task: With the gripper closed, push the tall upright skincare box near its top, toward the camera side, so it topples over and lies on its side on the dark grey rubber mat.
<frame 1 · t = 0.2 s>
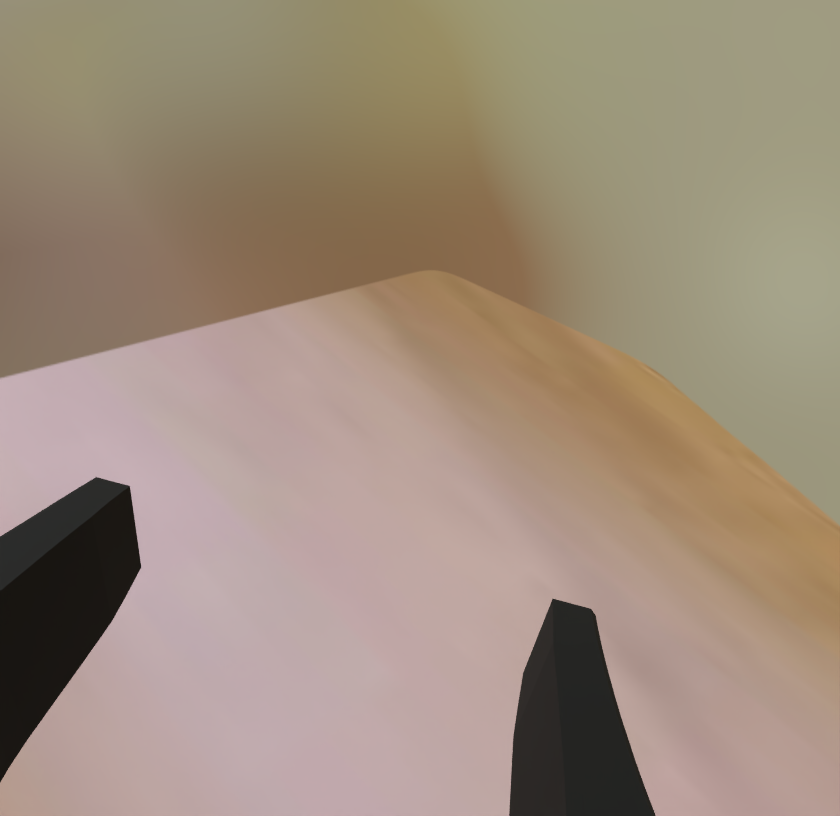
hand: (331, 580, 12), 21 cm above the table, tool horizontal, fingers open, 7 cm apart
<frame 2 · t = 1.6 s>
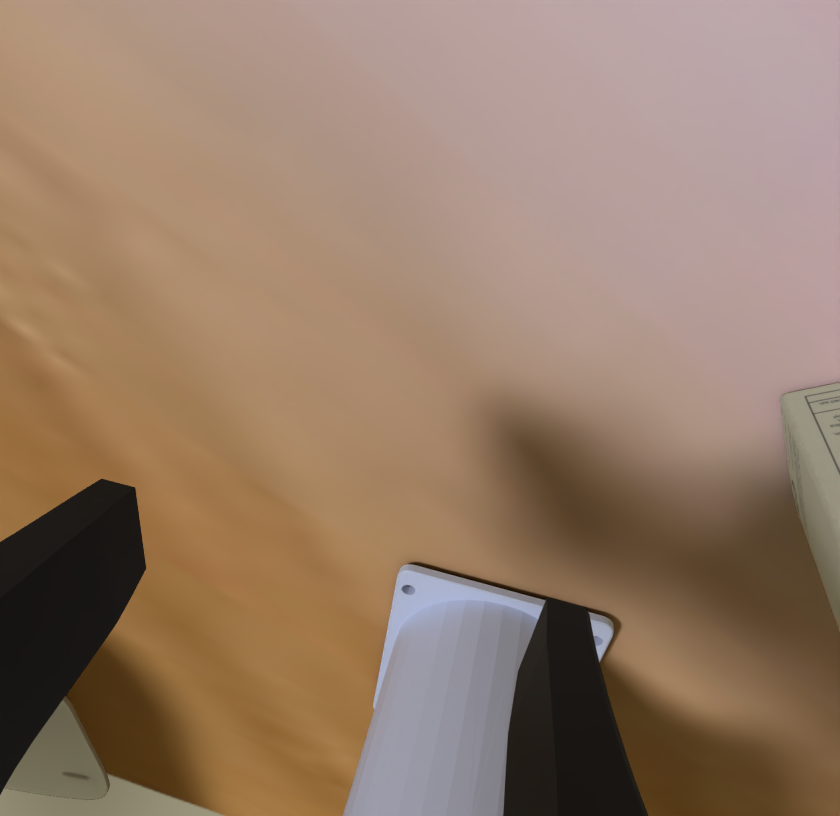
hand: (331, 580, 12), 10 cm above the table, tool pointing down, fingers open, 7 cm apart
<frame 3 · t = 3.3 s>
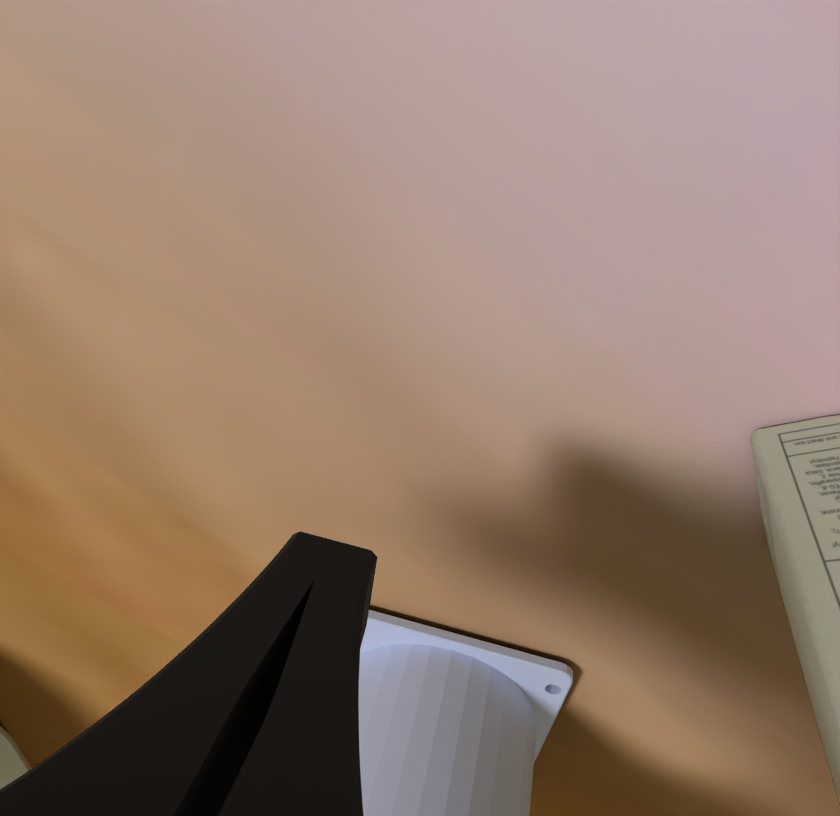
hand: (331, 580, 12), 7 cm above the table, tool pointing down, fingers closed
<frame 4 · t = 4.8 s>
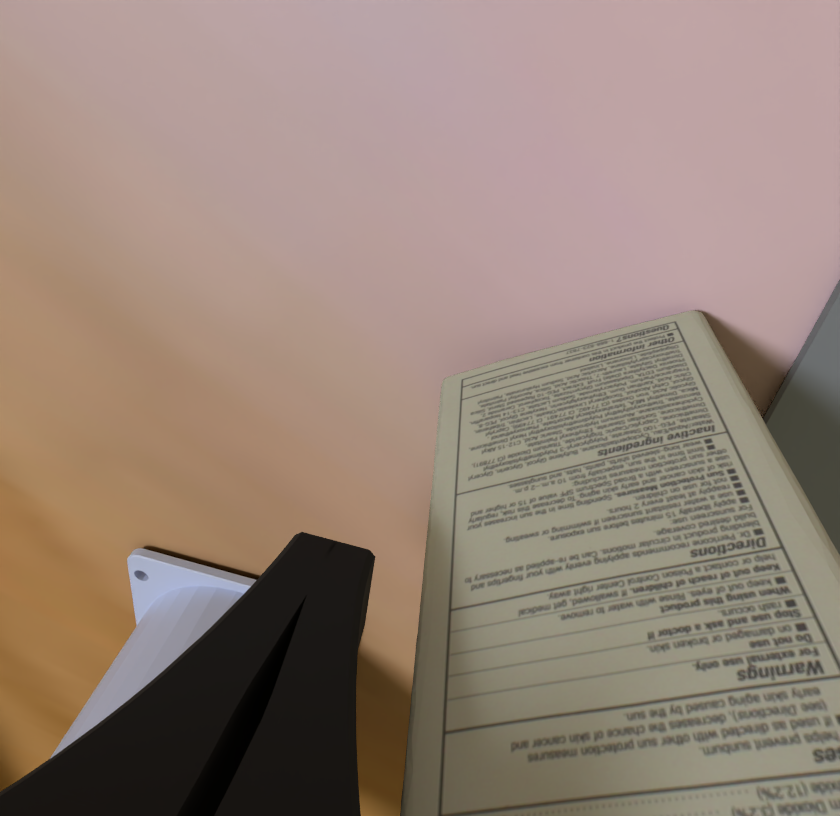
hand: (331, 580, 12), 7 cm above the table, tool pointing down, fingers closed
skincare box: (588, 403, 17), on the table
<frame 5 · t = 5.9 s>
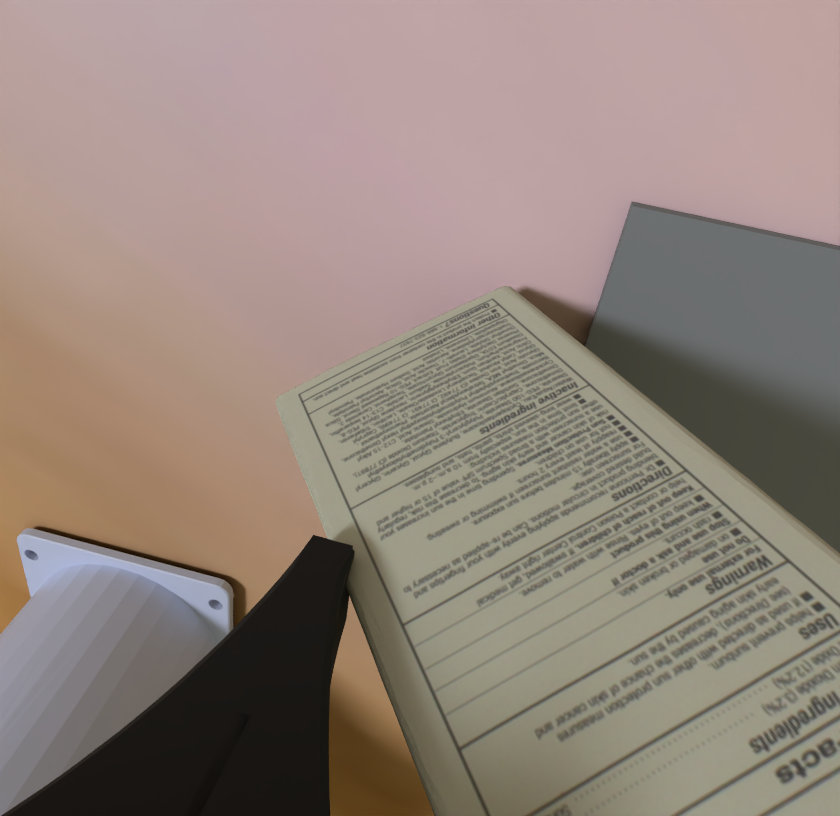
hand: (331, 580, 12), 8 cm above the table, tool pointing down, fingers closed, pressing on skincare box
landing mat: (836, 471, 18), on the table
skincare box: (419, 394, 17), point 1 cm above the table, touching gripper
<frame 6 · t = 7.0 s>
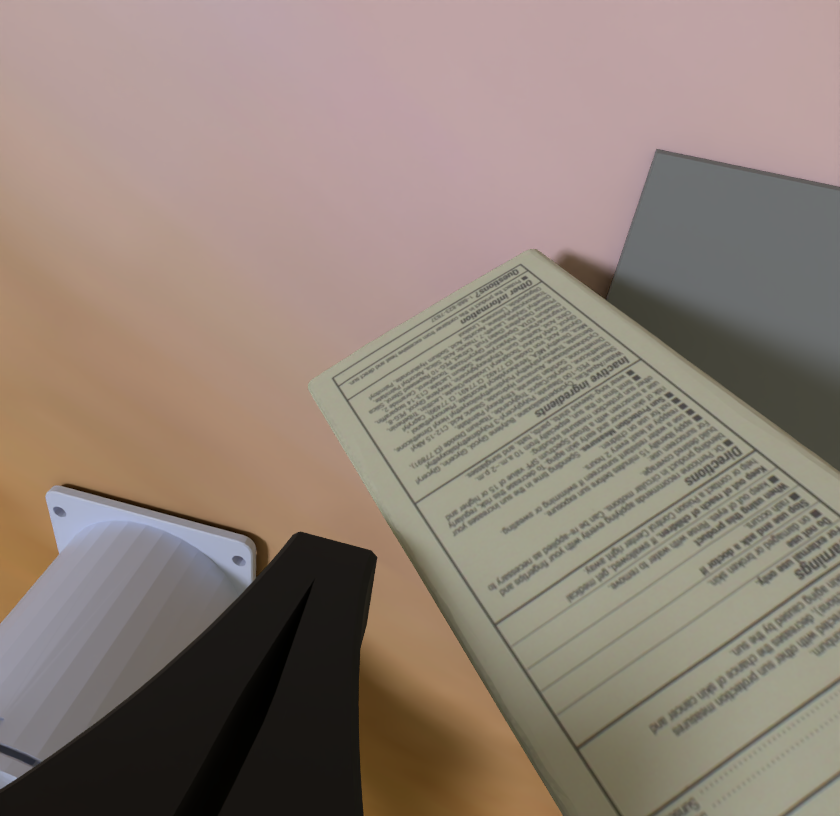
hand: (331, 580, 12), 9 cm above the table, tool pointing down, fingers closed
skincare box: (445, 362, 17), point 2 cm above the table
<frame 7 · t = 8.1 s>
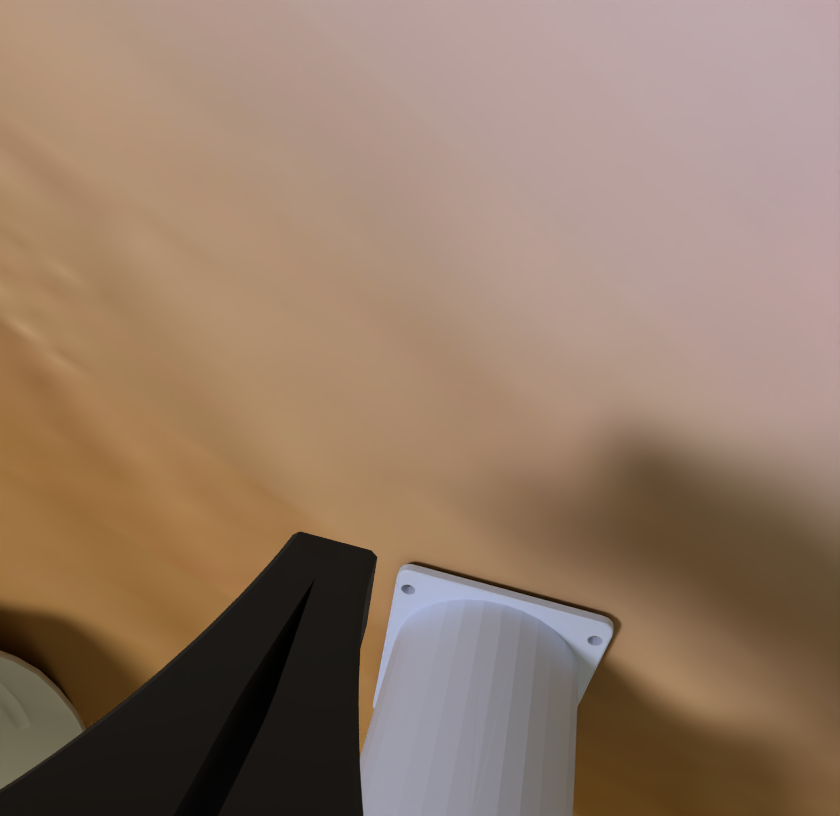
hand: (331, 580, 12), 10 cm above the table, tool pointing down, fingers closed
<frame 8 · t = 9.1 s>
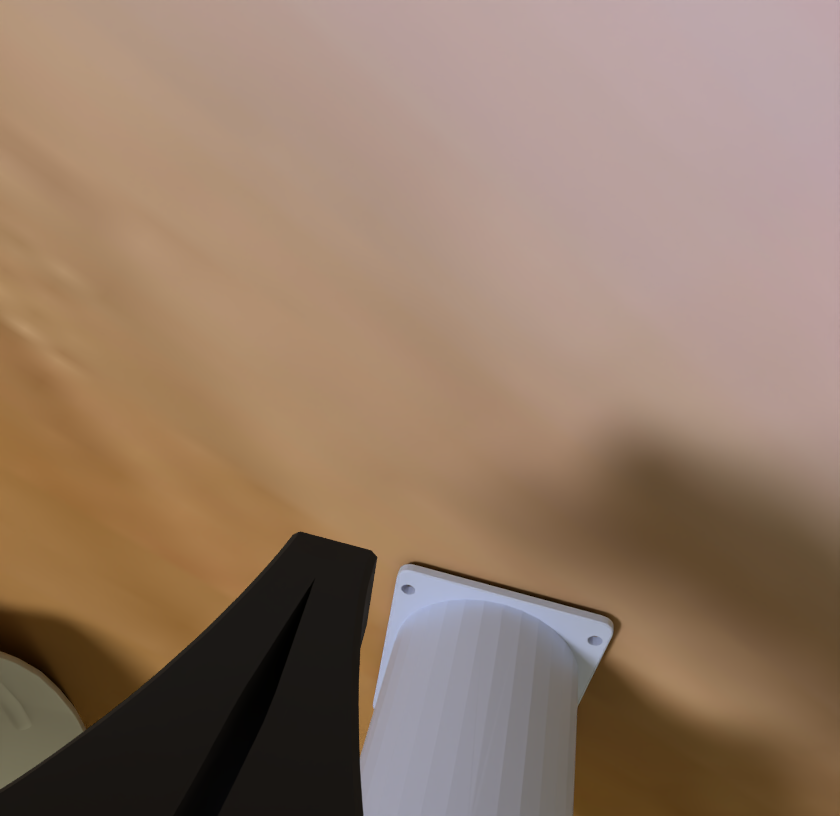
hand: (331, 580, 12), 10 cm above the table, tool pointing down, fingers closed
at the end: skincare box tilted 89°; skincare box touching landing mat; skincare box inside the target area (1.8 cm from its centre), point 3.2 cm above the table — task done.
